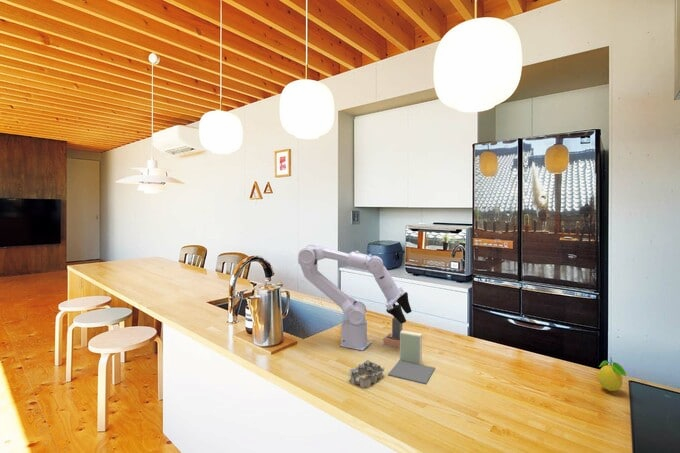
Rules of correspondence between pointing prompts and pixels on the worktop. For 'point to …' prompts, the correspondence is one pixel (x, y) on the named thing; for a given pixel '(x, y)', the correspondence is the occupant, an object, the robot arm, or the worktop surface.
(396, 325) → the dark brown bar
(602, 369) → the lemon
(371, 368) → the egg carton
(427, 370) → the mat
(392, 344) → the pusher holder
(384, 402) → the worktop surface
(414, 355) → the glazed tile
